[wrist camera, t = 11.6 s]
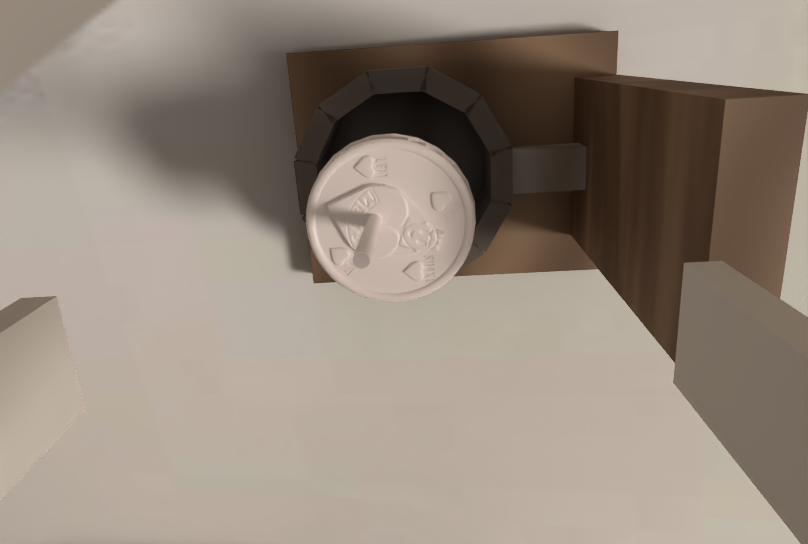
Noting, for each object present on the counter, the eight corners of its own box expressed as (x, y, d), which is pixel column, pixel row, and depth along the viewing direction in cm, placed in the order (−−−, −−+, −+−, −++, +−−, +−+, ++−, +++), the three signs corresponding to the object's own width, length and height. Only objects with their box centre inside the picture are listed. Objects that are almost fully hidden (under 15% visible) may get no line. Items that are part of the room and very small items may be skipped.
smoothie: (362, 89, 30) (303, 130, 17) (485, 130, 31) (517, 201, 18) (328, 209, 33) (254, 325, 20) (443, 245, 33) (444, 383, 20)
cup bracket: (318, 274, 36) (226, 463, 19) (292, 53, 32) (148, 51, 15) (599, 260, 35) (758, 444, 18) (609, 31, 31) (823, 4, 14)
